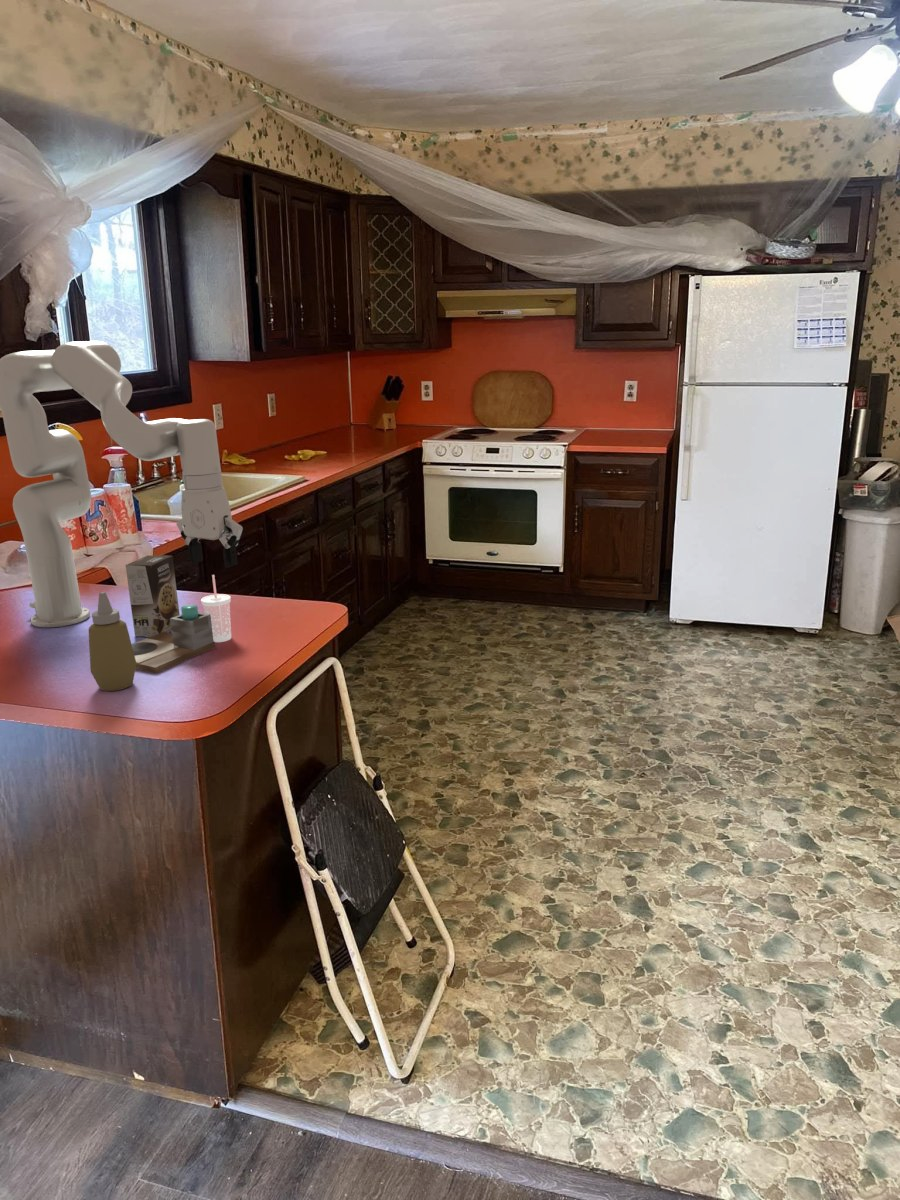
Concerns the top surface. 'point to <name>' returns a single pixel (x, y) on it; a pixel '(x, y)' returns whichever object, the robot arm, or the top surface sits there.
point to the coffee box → (152, 594)
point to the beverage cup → (218, 614)
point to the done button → (189, 612)
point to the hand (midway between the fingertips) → (213, 564)
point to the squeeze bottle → (110, 648)
